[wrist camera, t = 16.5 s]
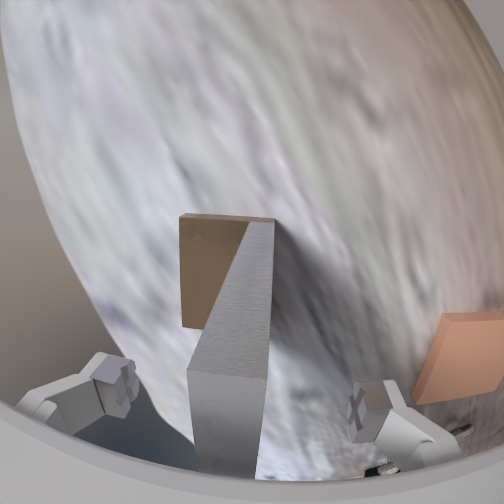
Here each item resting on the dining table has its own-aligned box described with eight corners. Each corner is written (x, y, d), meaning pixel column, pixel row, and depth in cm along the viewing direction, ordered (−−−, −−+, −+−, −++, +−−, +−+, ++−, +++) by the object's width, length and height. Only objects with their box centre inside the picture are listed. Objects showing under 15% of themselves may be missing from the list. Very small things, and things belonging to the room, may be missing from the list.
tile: (450, 322, 20) (529, 317, 19) (440, 310, 21) (518, 308, 21) (416, 405, 22) (495, 390, 22) (409, 391, 24) (487, 380, 23)
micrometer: (366, 486, 30) (369, 500, 27) (359, 465, 28) (362, 481, 26) (465, 445, 27) (471, 457, 24) (469, 418, 25) (477, 431, 23)
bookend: (185, 213, 20) (18, 328, 6) (274, 218, 20) (266, 379, 5) (187, 317, 23) (98, 490, 8) (266, 325, 22) (247, 524, 8)
